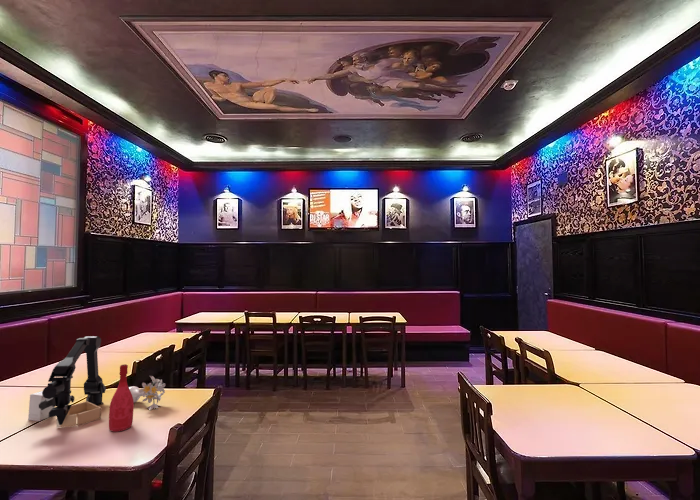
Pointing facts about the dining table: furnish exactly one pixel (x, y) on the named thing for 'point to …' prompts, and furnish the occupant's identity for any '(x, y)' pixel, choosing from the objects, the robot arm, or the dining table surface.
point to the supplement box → (37, 407)
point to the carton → (85, 412)
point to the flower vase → (148, 392)
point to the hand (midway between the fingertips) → (61, 423)
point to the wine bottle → (121, 405)
